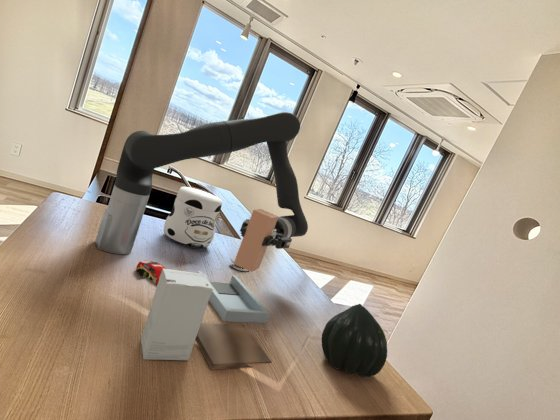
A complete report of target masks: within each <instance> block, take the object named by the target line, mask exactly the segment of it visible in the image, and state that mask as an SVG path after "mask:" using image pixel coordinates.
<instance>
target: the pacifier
mask: <svg viewBox="0 0 560 420" xmlns="http://www.w3.org/2000/svg"><path fill="white" fill-rule="evenodd" d="M229 260H230V261H231V262H232V263H233V265H232V268H233V269H235V270H238V271H241V272H249V271H248V270H246V269H244V268H243V269H241V268H242V267H240V266H238V265H236V264H234V261H235V260H234V259H232V258H230V259H229Z"/></svg>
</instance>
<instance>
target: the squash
mask: <svg viewBox="0 0 560 420" xmlns="http://www.w3.org/2000/svg"><path fill="white" fill-rule="evenodd" d="M321 347H322V352H323V355H324V357H325V358H326V359H327V361H329V362H330V364H331V366H333V368H335V369H337V370H344V371H346V372H347V373H349V374H353V373H356V374H357V375H359V376H361V377H364V378H365V377H366V378H370V377H374V376H376V375H378V373H380V372H381V371H382V369H383V368H384V366H385V364H386V361H387V358H388V342H387V338H386V334H385V332H384V329H383V328H382V327H381V325H380V323H379V322H378V321H377V320H376V319H375V317H374V316H373V314H371V312H370V311H369V310H368V309H367V308H366V307H365V306H363V305H362V304H361V303H358V304H354V305H352V306H350V307H349V308H348V307H347V309H345V310H343V311H341V312H339V313H337V314H336V315H334V316H333V317H331V319H329V320H328V322H326V324H325V326H324V327H323V330H322V334H321Z"/></svg>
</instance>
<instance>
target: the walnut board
mask: <svg viewBox="0 0 560 420" xmlns="http://www.w3.org/2000/svg"><path fill="white" fill-rule="evenodd" d="M195 342H196V343H197V346H198V348H199V349H200V351H201V353H202V354H203V356H204V358H205V360H206V362H207V365H208V366H209V368H210V370H213V371H214V370H229V369H231V370H232V369H247V368H248V369H251V368H253V367H252V366H250V365H248V364H262V363H263V364H267V363H268V364H270V363H272V360H271V359H270V357H269V356H268V355H267V353H266V352H265V351H264V349H263V348H262V347H261V345H260V344H259V343H258V341H256V339H255V338H254V336H253V335H252V334H251V332H250V331H249V330H248V328H247V327H246V325H244V324H239V323H235V324H234V323H231V324H230V323H207V322H206V323H203V322H201V325H200V327H199V330H198V333H197V336H196V339H195Z"/></svg>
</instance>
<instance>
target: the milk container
mask: <svg viewBox="0 0 560 420" xmlns="http://www.w3.org/2000/svg"><path fill="white" fill-rule="evenodd" d="M222 206H223V199H221V198H220V197H218V196H216V195H215V194H212V193H209V192H207V191H204V190H202V189H197V188H194V187H190V186H180V188H179V190H178V192H177V194H176V197H175V199H174V203H173V206H172V208H171V209H172V210H171V211H170V213H169V214H168V216H167V217H166V218H165V221H164V225H163V233H164V235H165V237H166V238H167V239H169V240H170V241H172V242H174V243H176V244H178V245H181V246H184V247H188V248H192V249H204V248H207V247H209V246H210V244H212V241H213V240H214V237H215V231H216V230H215V229H216V225H217V224H216V223H217V220H218V217H219V215H220V211H221V210H222Z"/></svg>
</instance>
